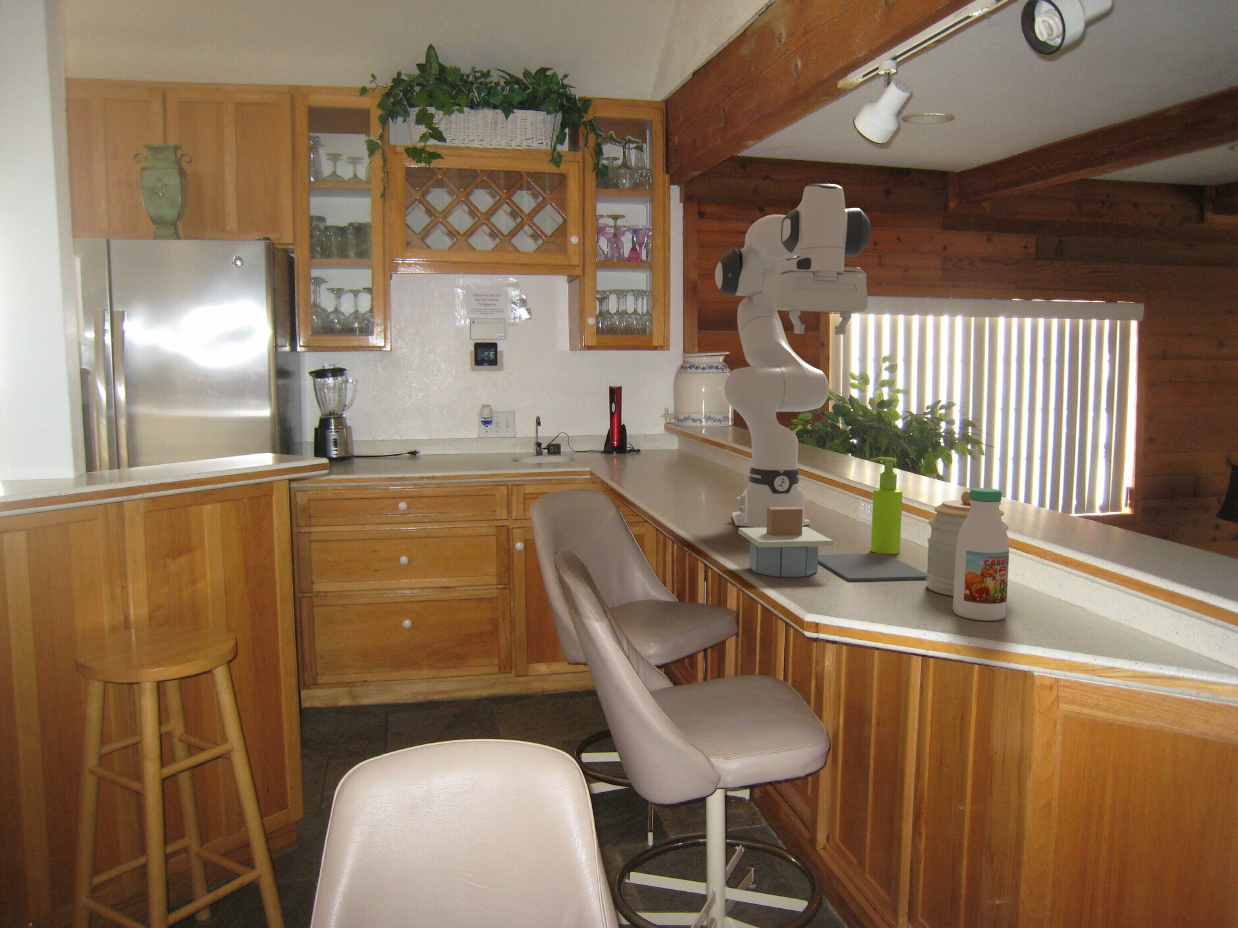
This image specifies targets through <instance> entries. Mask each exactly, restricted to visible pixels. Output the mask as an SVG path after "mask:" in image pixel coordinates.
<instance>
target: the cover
mask: <svg viewBox="0 0 1238 928" xmlns="http://www.w3.org/2000/svg"><path fill="white" fill-rule="evenodd" d="M802 517H803V509H801V508H799V507H767V528H755V527H738V532H737V533H738V534H739V535H741V536H742V537H743V538H745V539H746V540H748V541H749V542H750V541H751V542H752V543H754V544H755V545H756V546H758V547H803V546H818V547H833V546H834V540H833V539H831V538H829V537H827V536H825V535H823V534H821V533H819V532H817V531H815V530H814V529H812V528H809V527H808V526H802Z"/></svg>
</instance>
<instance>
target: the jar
mask: <svg viewBox="0 0 1238 928" xmlns="http://www.w3.org/2000/svg"><path fill="white" fill-rule="evenodd" d="M969 493H970V490H965V491H963V492H962V494H961V496H960V500H959V499H958V500H957V499H956V500H955V499H954V500H946V501H943V502H942V503H941V504H939V505H936V506H935V507H934V508H933V511H934V512H936V513H935V516H934V517H932V518H929V520H928V522H927V524H928V525H929V526H930V528H931V531H930V537H929V538H927V544H928V549H927V568H926V572H925V573H926V580H925V581H926V587H927V588H928V589H929V590H930V591H932V592H936V593H938V594H941V595H945V596H950V597H953V596H954V576H955V559H956V547H957V539H958V535H959V532H960V530H961V528H962V526H963V524H964V522H965V520H966V518H967V516H968V514H969V511H970V506H971V504H970V502H969V501H970V498H969ZM999 512H1000V516H1001V517H1003V516H1004V515H1005V512H1004V511H1003V510H1002V509H1000V508H999ZM1001 520H1002V523H1003V525H1004V527H1005V530H1006V532H1007V531H1008V530H1009V525H1008V524H1007V523H1005V522H1004V521H1003V519H1002V518H1001Z"/></svg>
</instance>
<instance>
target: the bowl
mask: <svg viewBox="0 0 1238 928" xmlns="http://www.w3.org/2000/svg"><path fill="white" fill-rule="evenodd" d="M818 555H819V546H803V547H758V546H756V545H755V544H754V543H752V542H751V541H749V566H748V567H749V568H750V569H751V570H752V571H753V572H754V573H757V574H760V575H762V576H763V575H764V576H768V577H775V578H776V577H777V578H803V577H805V578H806V577H809V576H812V575H815V573H817V572H818V565H819V563H818Z"/></svg>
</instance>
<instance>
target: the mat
mask: <svg viewBox="0 0 1238 928" xmlns="http://www.w3.org/2000/svg"><path fill="white" fill-rule="evenodd" d="M818 565H821V566H823V567H824V568H826V569H828V571H831V572H832V573H833V574H836V575H837V576H839V577H840V578H842V579H844V580H845V581H847V582H877V581H878V582H880V581H881V582H883V581H886V582H888V581H915V580H916V581H919V580H920V581H921V580H925V581H926V572H924V571H922V570H920V569H917V568H916V567H913V566H912V565H909V564H907V563H905V562H903V561H901V560H899V559H897V558H895V557H892V556H891V555H890V554H885V553H838V554H837V553H836V554H835V553H833V554H818Z"/></svg>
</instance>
